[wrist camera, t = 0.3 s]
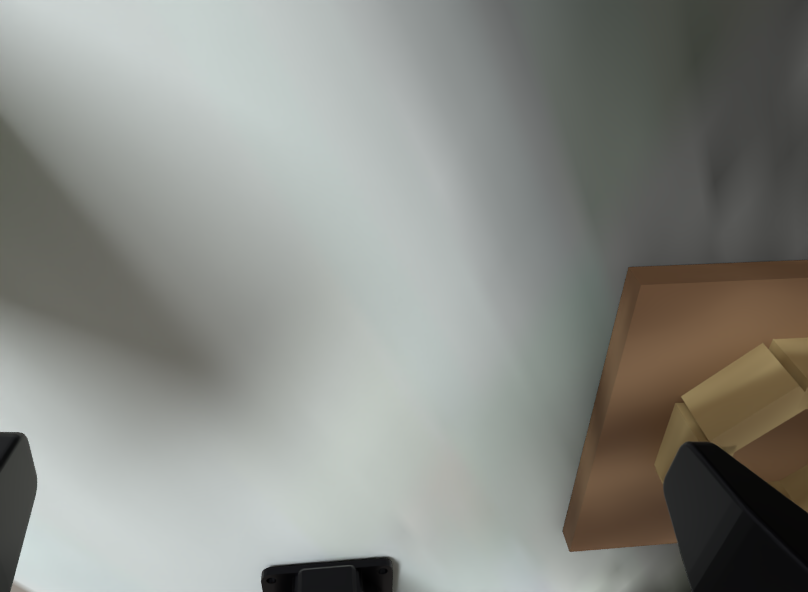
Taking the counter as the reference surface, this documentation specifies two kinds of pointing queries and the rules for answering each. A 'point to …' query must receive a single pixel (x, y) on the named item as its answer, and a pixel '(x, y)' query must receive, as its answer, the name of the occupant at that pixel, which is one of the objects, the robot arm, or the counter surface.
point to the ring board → (664, 368)
